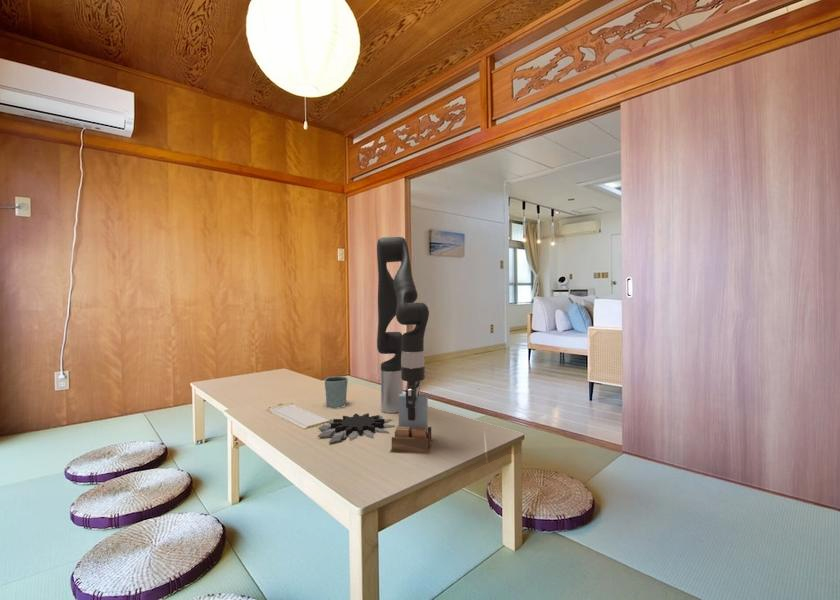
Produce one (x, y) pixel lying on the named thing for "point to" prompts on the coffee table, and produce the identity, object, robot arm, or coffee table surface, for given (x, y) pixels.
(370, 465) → the coffee table surface
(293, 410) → the baseboard molding
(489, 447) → the coffee table surface
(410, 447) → the rack
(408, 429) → the offcut
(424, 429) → the offcut
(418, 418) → the tall board
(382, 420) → the decorative piece
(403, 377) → the robot arm
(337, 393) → the teal cup
